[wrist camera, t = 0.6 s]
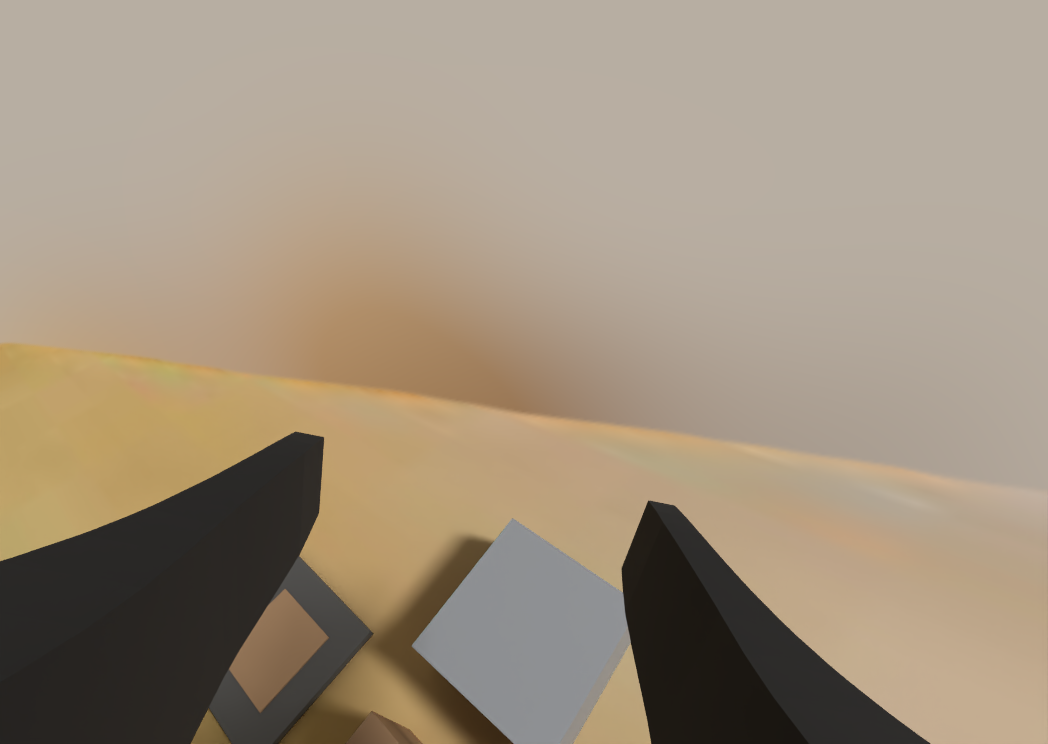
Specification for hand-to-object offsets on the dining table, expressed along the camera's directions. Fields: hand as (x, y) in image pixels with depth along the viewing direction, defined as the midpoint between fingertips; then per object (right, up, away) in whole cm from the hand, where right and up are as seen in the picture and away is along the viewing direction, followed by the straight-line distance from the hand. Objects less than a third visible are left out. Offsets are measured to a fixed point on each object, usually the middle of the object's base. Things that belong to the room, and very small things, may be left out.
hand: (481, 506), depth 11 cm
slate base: (+2, -10, +13) cm, 17 cm away
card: (-12, -11, +15) cm, 22 cm away
